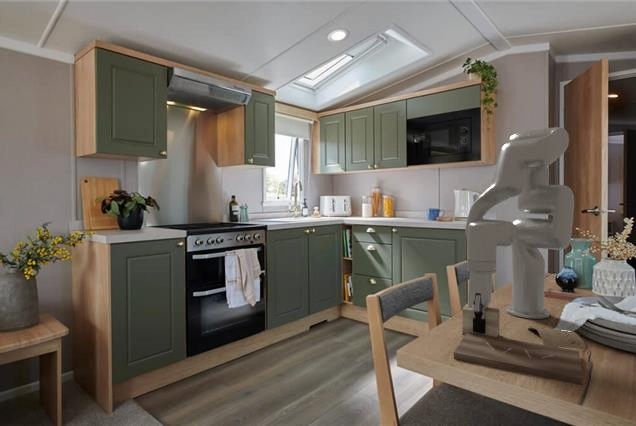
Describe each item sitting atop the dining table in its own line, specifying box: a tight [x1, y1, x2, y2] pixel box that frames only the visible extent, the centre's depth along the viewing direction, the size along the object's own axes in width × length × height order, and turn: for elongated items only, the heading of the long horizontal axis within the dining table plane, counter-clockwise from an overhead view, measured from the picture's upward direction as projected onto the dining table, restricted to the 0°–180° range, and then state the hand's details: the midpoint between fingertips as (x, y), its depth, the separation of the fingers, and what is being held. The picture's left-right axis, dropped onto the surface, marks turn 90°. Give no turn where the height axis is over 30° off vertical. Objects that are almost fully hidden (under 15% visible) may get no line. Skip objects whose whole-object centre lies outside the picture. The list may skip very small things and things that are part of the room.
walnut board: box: [453, 332, 583, 386], centre depth 95 cm, size 16×26×2 cm, turn 58°
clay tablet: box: [527, 326, 587, 350], centre depth 106 cm, size 14×10×3 cm
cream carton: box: [461, 303, 501, 337], centre depth 110 cm, size 5×9×8 cm, turn 58°
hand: (480, 328), depth 110 cm, fingers closed on cream carton, 5 cm apart
